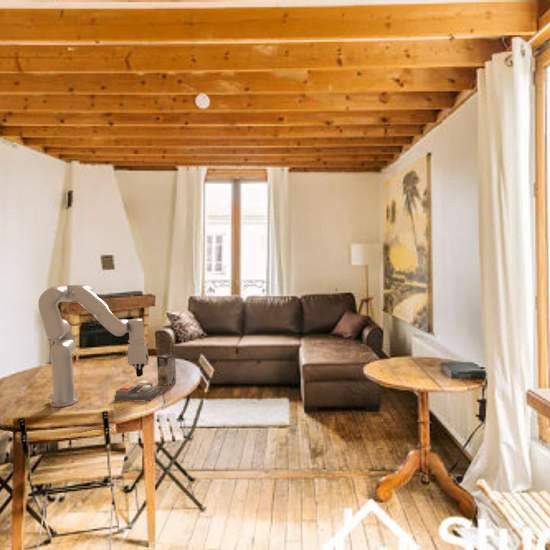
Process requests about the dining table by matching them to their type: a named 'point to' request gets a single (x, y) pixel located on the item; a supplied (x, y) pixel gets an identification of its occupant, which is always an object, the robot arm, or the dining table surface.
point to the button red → (125, 388)
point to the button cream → (143, 383)
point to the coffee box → (166, 369)
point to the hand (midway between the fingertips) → (139, 375)
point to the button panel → (138, 393)
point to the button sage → (146, 388)
